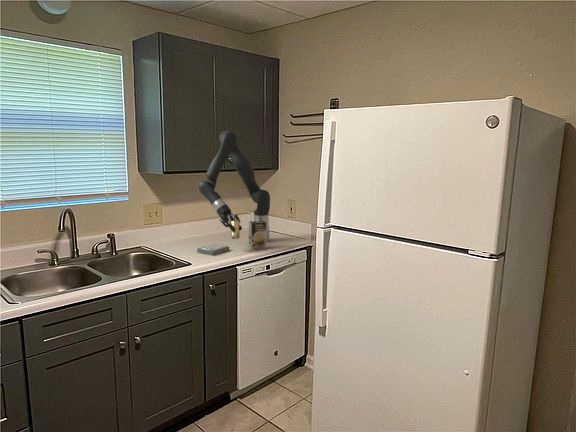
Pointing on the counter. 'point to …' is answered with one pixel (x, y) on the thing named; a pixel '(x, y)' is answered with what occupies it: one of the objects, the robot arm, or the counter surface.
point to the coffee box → (257, 235)
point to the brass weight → (236, 225)
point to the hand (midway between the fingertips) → (237, 230)
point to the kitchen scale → (213, 249)
